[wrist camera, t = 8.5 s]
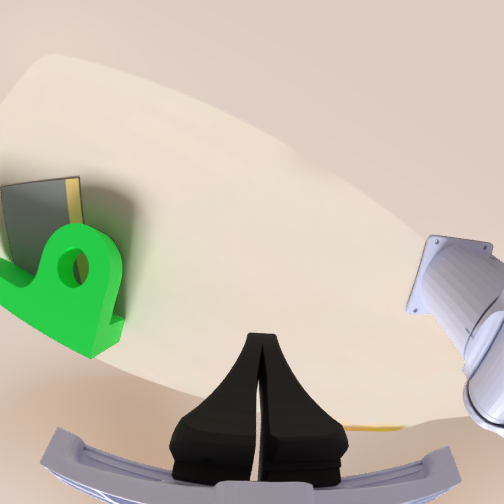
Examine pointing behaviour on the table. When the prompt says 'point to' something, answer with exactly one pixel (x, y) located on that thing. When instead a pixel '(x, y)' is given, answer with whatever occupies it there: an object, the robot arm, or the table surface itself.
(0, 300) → the bracket
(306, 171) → the table surface
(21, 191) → the mat
